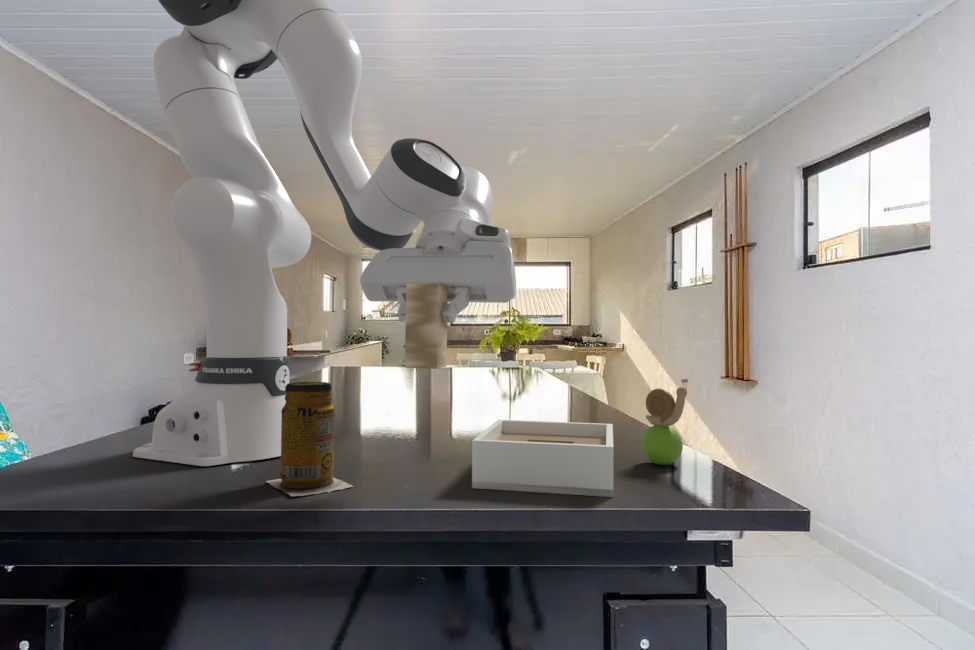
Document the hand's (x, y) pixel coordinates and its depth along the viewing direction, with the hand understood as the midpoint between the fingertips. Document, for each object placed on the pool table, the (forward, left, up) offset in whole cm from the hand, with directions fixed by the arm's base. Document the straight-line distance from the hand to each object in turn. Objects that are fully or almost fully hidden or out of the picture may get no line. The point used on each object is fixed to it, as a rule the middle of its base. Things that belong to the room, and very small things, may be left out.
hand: (425, 318), depth 69 cm
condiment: (-13, -4, -20) cm, 24 cm away
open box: (+14, +7, -20) cm, 25 cm away
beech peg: (0, +1, -6) cm, 6 cm away
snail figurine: (+29, +16, -20) cm, 39 cm away
